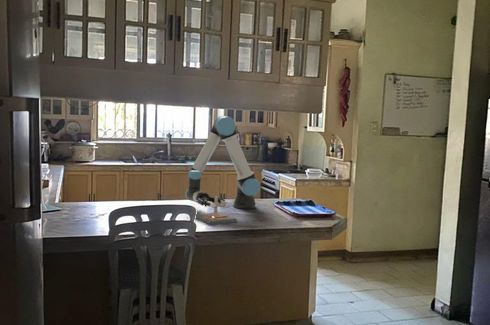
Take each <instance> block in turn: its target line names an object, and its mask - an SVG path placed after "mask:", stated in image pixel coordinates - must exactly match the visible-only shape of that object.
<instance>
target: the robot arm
mask: <svg viewBox="0 0 490 325" xmlns="http://www.w3.org/2000/svg"><path fill="white" fill-rule="evenodd" d="M220 141H222V142H224V144H225V147H226V150H227V152H228V154H229V157H230V159H231V162H232V165H233V166H234V169H235V171H236V174H237V176H236V179H237V180H236V195H235V198H234V201H233V205H232V206H233V207H234V208H236V209H244V210H246V209H247V210H248V209H249V210H251V209H255V208H257V205H256V200H255V196H256V195H257V194H259V193H260V189H261V184H260V181H259V180H258V179H257V177H256V174H255V172H254V171H252V170H251V169H250V166H249V163H248V161H247V158H246V156H245V153H244V151H243V149H242V147H241V144H240V142H239V139H238V130H237V128H236V123H235V121H234V119H233V118H232V117H230V116H228V115H219V116H218V117H217V118H215V120H214V122H213V125H212V127H211V129H210V131H209V136H208V137H207V139H206V141H205V143H204V144H203V147H202V149H201V150H200V152H199V153H198V156H197V157H196V159H195V161H194V163H193V165H192V167H191V168H190V169H189V171H188V173H187V176H186V177H187V180H188V187H187V188H188V189H186V191H185V194H184V195H185V198H187V200H189V201H191V202H194V203H196V204H198V205H201V206H204V207H206V208H207V207H209V208H213V209H214V203H215V196H214V197H212V196H210V194H208V193H207V192H204V191H202V190H201V183H202V181H201V180H202V174H203V171H204V170H205V168H206V166H207V164H208V163H209V160H210V159H211V157H212V155H213V154H214V152H215V150H216V148H217V146H218V145H219V143H220ZM218 202H219V203H220V204H225V206H224V208H228V201H226V200H225V199H224V198H219V197H218Z"/></svg>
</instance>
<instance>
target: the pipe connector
mask: <svg viewBox="0 0 490 325" xmlns="http://www.w3.org/2000/svg"><path fill="white" fill-rule="evenodd" d="M214 197H215V203H214V208H213V213H214V214H217V213H218V208H225V204H220V203H219V202H218V198H219V197H218V196H216V195H215V196H214Z"/></svg>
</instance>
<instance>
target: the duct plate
mask: <svg viewBox="0 0 490 325" xmlns="http://www.w3.org/2000/svg"><path fill="white" fill-rule="evenodd" d="M195 215H196V218H195V219H196V220H198V221H200V222H202V221H203V222H202V223H205V224H207V225H209V226H212V225H220V224H229V223H230V224H231V223H237V221H238V218H236V217H234V216H231V215H228V214H226V213H224V212H217V214H214V212H208V213H200V214H199V213H197V214H195Z"/></svg>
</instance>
